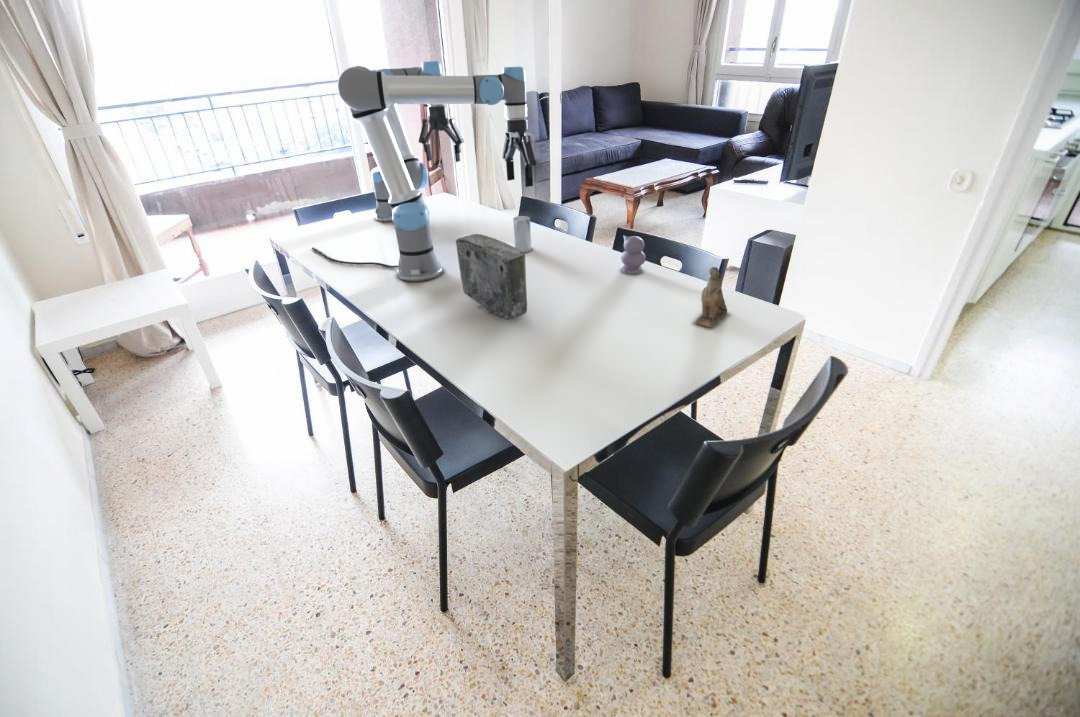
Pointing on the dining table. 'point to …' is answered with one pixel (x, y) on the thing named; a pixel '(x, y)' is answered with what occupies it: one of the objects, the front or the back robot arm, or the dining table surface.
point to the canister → (522, 233)
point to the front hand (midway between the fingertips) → (519, 183)
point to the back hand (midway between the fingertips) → (443, 161)
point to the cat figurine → (633, 254)
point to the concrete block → (493, 274)
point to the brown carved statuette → (712, 301)
